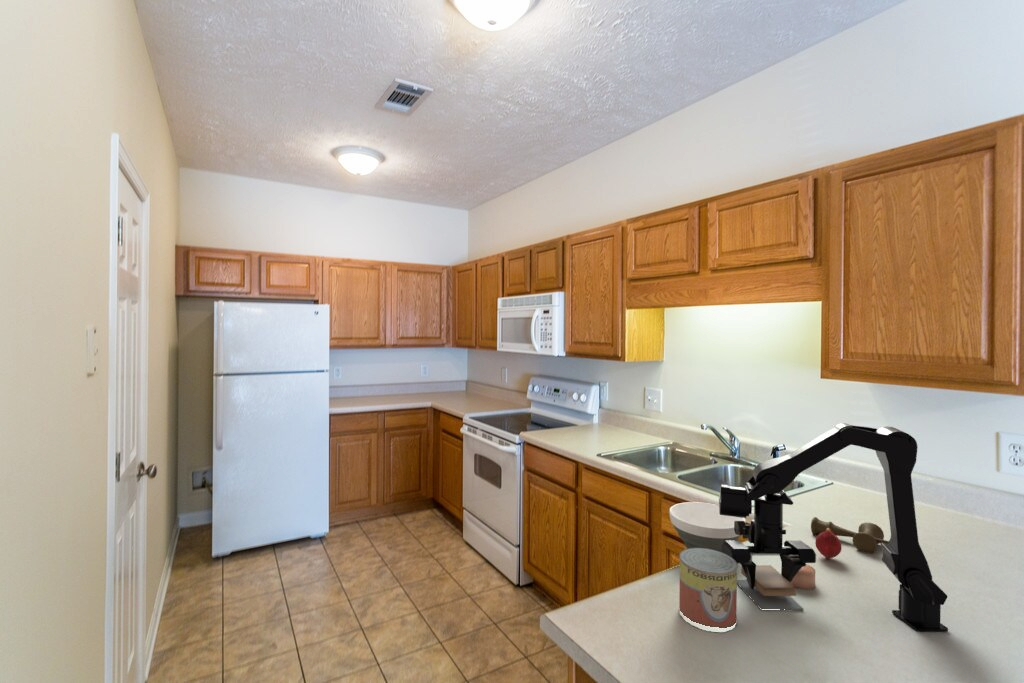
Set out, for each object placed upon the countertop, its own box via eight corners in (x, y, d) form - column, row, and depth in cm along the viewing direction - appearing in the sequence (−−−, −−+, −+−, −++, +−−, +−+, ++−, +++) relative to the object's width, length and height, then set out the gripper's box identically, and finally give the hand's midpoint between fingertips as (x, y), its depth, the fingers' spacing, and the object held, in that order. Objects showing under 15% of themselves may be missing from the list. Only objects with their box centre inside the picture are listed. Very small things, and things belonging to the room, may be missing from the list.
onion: (845, 564, 122) (846, 534, 122) (820, 562, 124) (821, 532, 123) (835, 554, 128) (835, 525, 128) (811, 552, 129) (811, 523, 129)
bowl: (707, 529, 144) (707, 498, 144) (762, 558, 126) (762, 522, 126) (654, 539, 137) (654, 506, 137) (704, 570, 119) (704, 533, 119)
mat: (803, 610, 102) (803, 608, 102) (761, 610, 102) (761, 608, 102) (772, 581, 114) (772, 579, 114) (735, 581, 114) (735, 579, 114)
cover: (796, 595, 103) (796, 587, 103) (763, 595, 103) (763, 587, 103) (770, 572, 113) (770, 565, 113) (741, 572, 113) (741, 565, 113)
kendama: (816, 530, 146) (900, 549, 131) (807, 540, 139) (893, 561, 125) (816, 510, 146) (899, 528, 131) (806, 519, 139) (893, 539, 125)
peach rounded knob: (821, 589, 111) (821, 574, 111) (794, 588, 111) (794, 574, 111) (804, 575, 117) (804, 561, 117) (778, 575, 117) (778, 561, 117)
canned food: (691, 633, 94) (691, 573, 94) (671, 601, 105) (671, 547, 105) (747, 632, 94) (748, 572, 94) (721, 601, 105) (721, 547, 105)
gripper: (788, 507, 116) (787, 571, 116) (711, 507, 116) (711, 571, 116) (817, 525, 105) (817, 596, 105) (733, 525, 104) (733, 596, 105)
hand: (767, 588), depth 108 cm, fingers closed on cover, 7 cm apart
